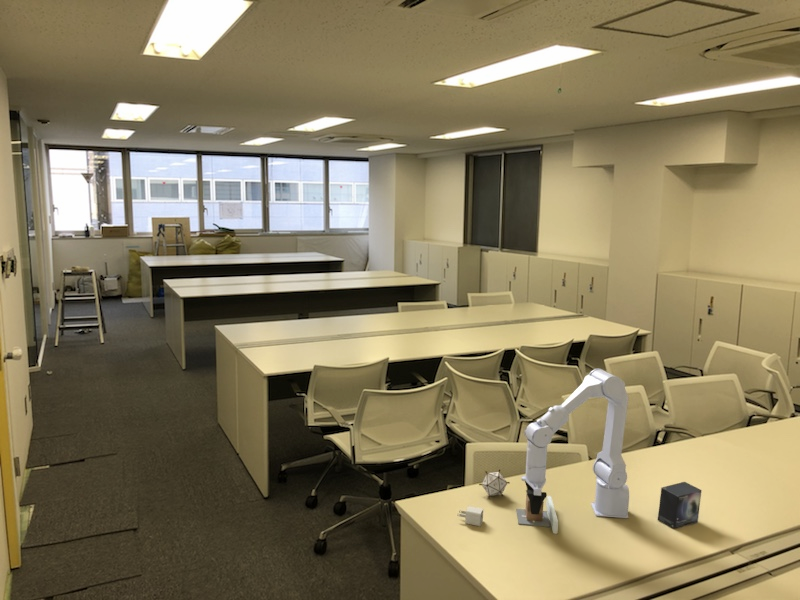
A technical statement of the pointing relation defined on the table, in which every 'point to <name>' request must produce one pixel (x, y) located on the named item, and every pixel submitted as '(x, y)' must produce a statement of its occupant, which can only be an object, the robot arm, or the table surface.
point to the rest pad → (524, 521)
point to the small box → (679, 505)
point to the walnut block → (533, 516)
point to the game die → (494, 483)
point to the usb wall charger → (472, 516)
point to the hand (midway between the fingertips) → (533, 507)
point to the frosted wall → (552, 515)
